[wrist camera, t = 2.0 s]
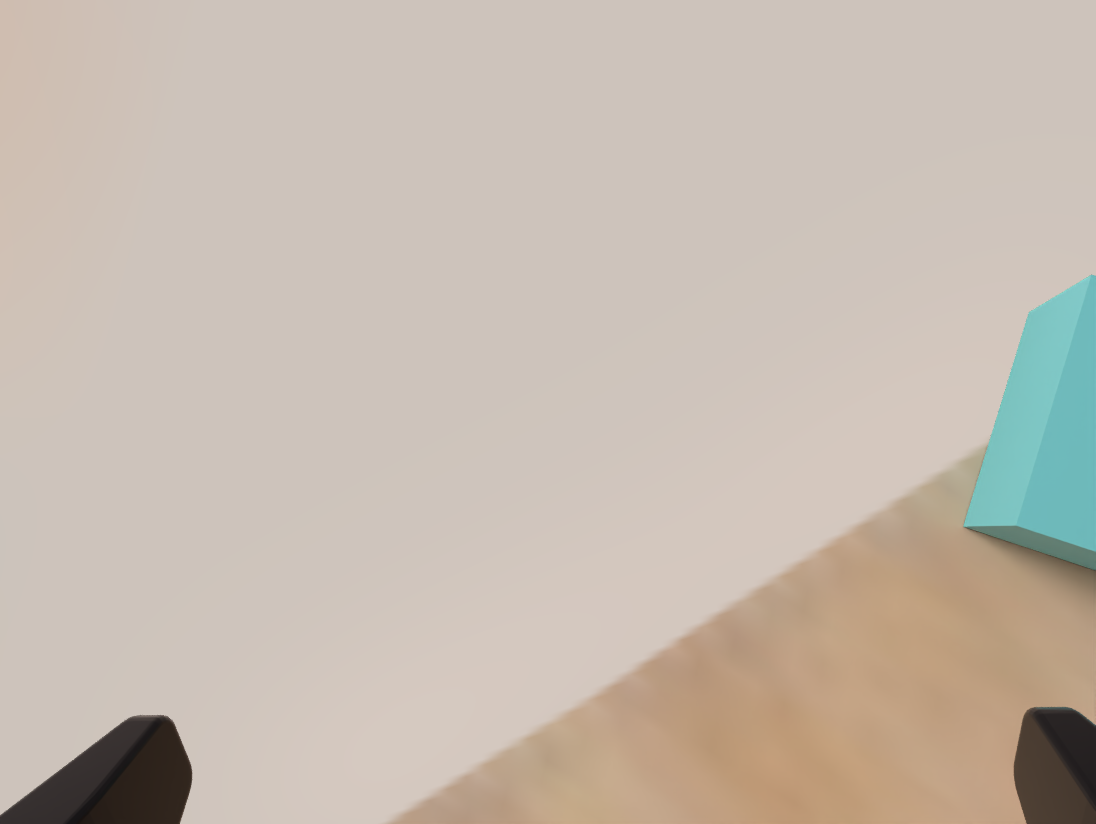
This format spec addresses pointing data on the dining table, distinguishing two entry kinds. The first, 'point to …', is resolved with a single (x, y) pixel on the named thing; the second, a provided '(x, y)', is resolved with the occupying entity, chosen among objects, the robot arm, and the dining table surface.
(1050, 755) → the robot arm
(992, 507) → the teal base block
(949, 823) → the dining table surface
